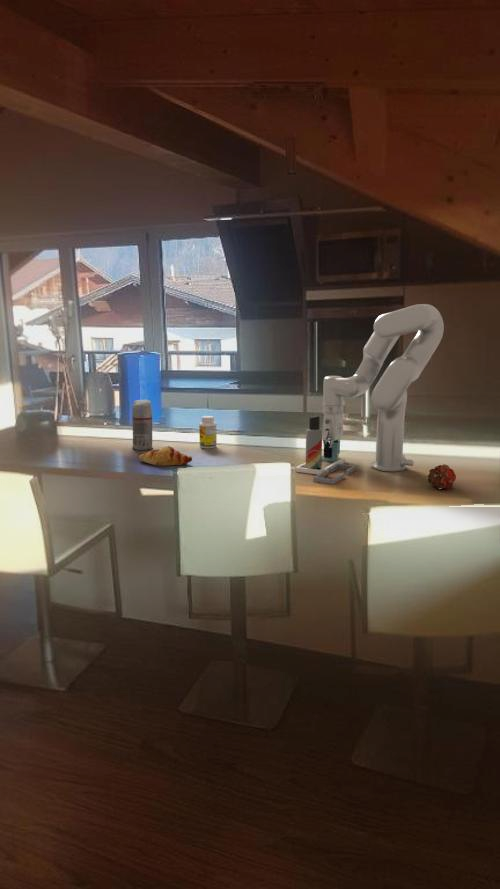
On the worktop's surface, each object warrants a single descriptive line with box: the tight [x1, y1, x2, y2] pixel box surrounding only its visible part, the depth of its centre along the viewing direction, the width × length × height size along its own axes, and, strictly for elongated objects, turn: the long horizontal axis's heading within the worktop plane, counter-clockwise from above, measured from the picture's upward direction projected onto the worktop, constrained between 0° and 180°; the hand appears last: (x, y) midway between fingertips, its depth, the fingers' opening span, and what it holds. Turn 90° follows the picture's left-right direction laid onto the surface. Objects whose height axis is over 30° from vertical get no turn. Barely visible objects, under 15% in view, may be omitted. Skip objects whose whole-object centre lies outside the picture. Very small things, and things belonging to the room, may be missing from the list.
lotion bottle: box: [304, 415, 323, 470], centre depth 238 cm, size 6×6×20 cm
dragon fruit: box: [427, 463, 457, 489], centre depth 218 cm, size 8×8×12 cm
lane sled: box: [294, 441, 346, 476], centre depth 245 cm, size 10×22×7 cm, turn 152°
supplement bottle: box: [199, 415, 217, 450], centre depth 277 cm, size 7×7×13 cm
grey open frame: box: [313, 463, 357, 485], centre depth 234 cm, size 7×22×2 cm, turn 152°
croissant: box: [138, 445, 193, 467], centre depth 250 cm, size 21×10×8 cm
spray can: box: [131, 398, 153, 451], centre depth 274 cm, size 8×8×20 cm
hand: (331, 455), depth 254 cm, fingers open, 7 cm apart
